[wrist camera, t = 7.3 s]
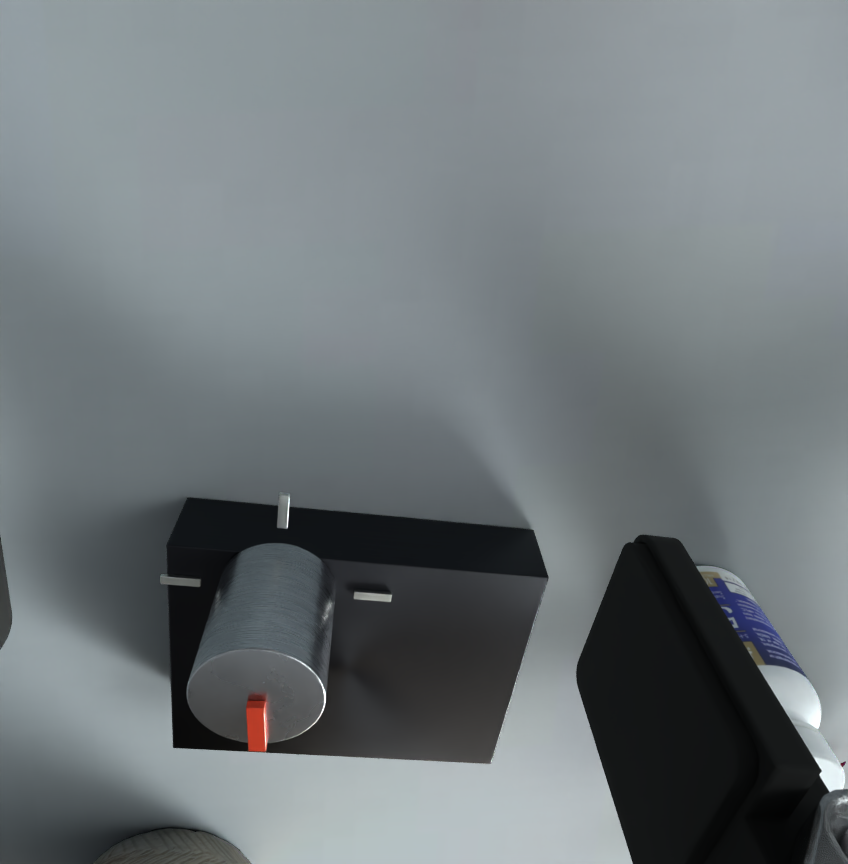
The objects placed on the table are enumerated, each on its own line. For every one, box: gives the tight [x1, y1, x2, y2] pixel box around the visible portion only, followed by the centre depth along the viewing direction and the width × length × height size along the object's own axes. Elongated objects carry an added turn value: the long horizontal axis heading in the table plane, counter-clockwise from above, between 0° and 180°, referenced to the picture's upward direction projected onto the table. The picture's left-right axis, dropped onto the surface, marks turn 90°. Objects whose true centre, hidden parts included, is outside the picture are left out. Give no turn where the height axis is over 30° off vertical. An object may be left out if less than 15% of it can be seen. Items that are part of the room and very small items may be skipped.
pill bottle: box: [696, 566, 845, 792], centre depth 27 cm, size 5×5×9 cm
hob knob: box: [186, 543, 336, 751], centre depth 23 cm, size 4×4×5 cm
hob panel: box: [160, 492, 548, 764], centre depth 28 cm, size 14×14×3 cm
